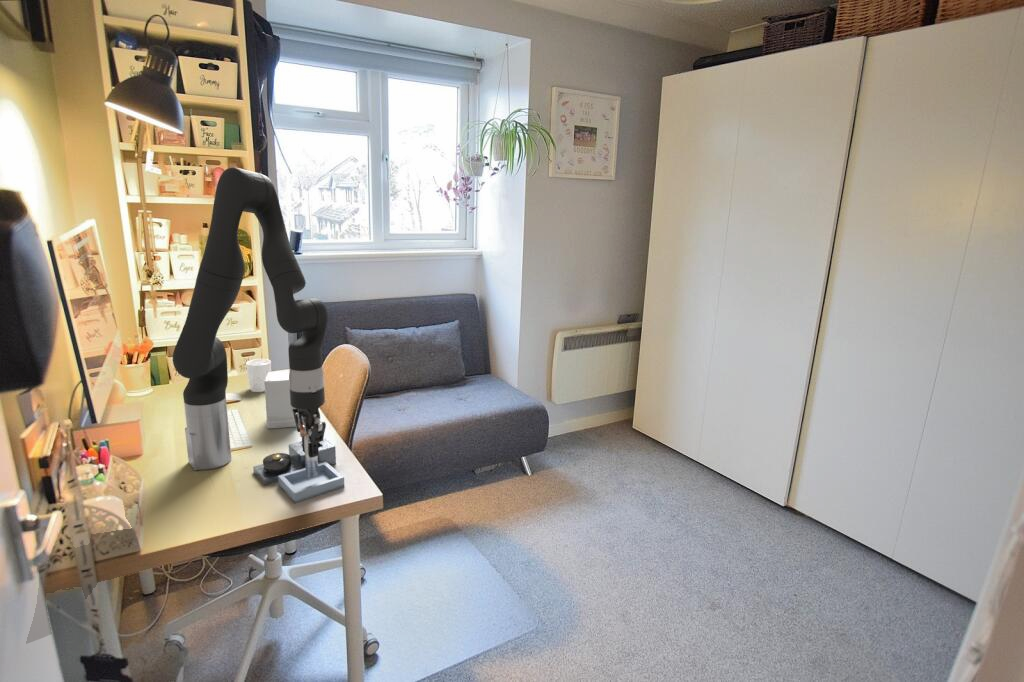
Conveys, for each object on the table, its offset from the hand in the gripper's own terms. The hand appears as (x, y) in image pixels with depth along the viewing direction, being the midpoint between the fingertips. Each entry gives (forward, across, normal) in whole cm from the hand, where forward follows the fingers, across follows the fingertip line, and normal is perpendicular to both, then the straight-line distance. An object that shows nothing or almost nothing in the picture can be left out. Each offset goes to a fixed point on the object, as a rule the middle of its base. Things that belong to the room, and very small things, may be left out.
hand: (310, 453), depth 131 cm
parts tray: (+9, 0, 0) cm, 9 cm away
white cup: (+9, -74, +13) cm, 76 cm away
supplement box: (+9, -41, +9) cm, 43 cm away
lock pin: (+6, 0, 0) cm, 6 cm away
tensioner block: (+8, -11, 0) cm, 14 cm away
